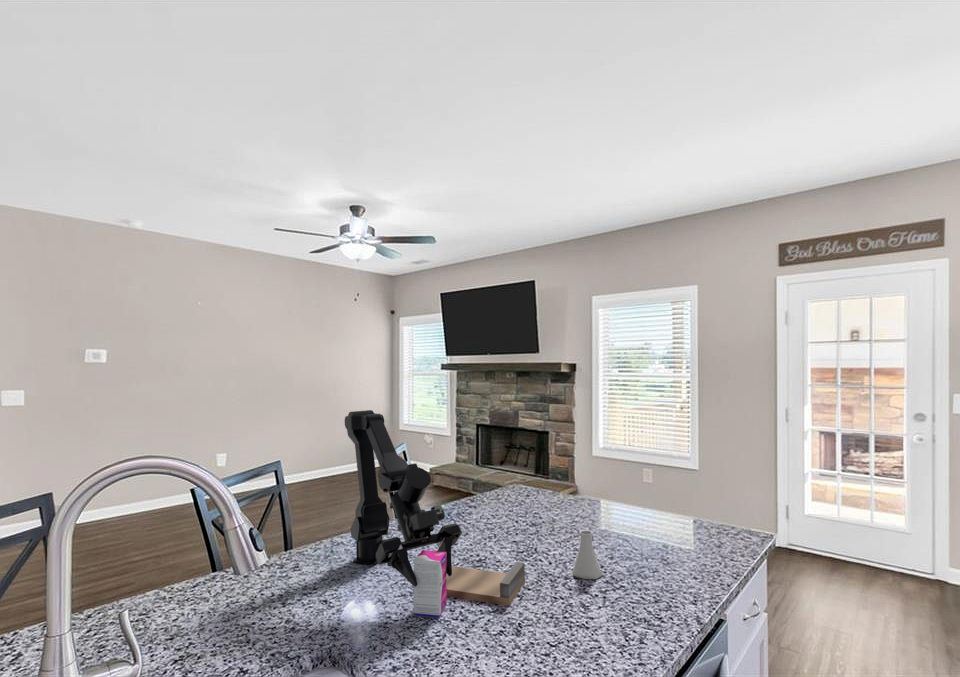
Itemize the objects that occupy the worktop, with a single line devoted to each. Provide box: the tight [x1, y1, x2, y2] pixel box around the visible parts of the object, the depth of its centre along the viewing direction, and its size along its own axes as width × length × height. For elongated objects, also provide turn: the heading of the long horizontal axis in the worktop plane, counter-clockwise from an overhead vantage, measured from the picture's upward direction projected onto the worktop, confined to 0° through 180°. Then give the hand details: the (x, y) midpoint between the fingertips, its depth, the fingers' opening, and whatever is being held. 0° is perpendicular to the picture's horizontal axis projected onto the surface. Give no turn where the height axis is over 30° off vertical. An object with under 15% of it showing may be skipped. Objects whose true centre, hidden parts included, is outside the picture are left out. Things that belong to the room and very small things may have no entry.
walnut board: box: [447, 561, 526, 606], centre depth 119 cm, size 20×12×4 cm, turn 69°
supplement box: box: [413, 549, 448, 619], centre depth 109 cm, size 6×6×12 cm
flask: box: [572, 529, 603, 580], centre depth 125 cm, size 7×7×10 cm
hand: (433, 580), depth 108 cm, fingers closed on supplement box, 8 cm apart
